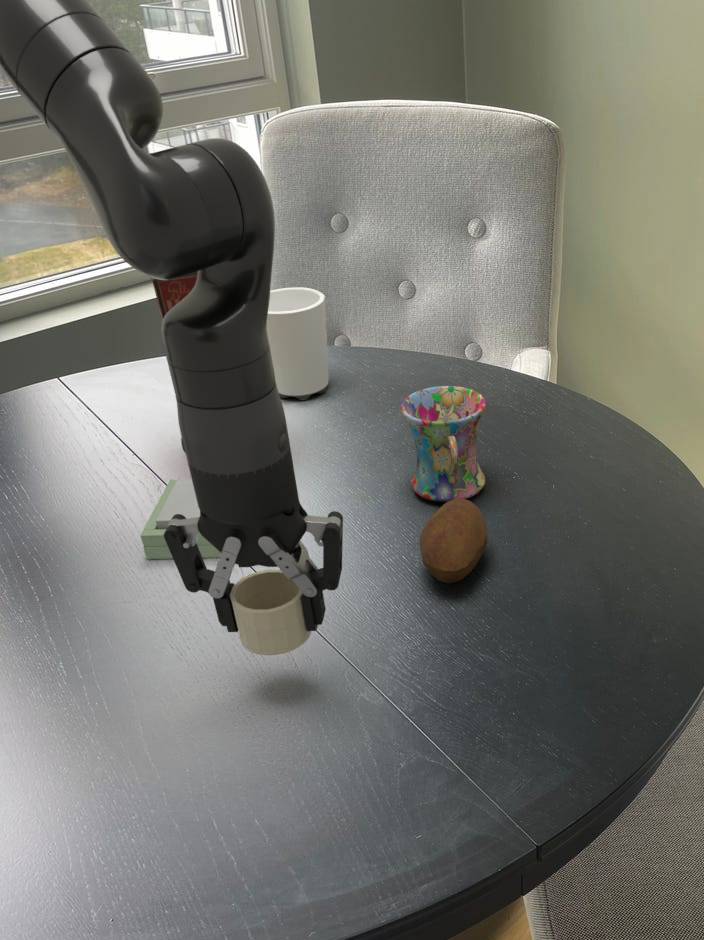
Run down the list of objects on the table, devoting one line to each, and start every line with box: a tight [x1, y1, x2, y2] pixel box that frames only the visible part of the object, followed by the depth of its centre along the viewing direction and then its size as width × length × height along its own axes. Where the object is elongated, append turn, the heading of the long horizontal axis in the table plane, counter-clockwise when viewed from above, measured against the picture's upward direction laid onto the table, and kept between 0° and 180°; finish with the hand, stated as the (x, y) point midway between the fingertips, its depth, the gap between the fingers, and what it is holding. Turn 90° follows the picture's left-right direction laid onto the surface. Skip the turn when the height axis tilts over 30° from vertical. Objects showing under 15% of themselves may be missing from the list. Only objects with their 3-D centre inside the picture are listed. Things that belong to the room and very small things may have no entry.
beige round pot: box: [230, 569, 312, 656], centre depth 81 cm, size 6×6×4 cm
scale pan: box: [156, 477, 200, 529], centre depth 106 cm, size 9×9×1 cm
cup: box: [267, 286, 330, 401], centre depth 132 cm, size 10×10×13 cm
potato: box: [419, 498, 488, 584], centre depth 97 cm, size 7×12×7 cm, turn 175°
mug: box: [400, 385, 487, 503], centre depth 108 cm, size 12×9×11 cm
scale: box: [140, 479, 221, 560], centre depth 107 cm, size 12×12×3 cm
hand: (274, 625), depth 82 cm, fingers closed on beige round pot, 6 cm apart
